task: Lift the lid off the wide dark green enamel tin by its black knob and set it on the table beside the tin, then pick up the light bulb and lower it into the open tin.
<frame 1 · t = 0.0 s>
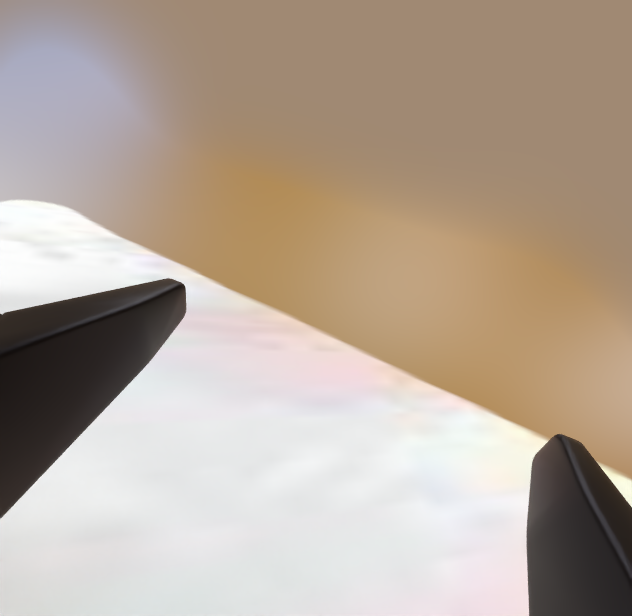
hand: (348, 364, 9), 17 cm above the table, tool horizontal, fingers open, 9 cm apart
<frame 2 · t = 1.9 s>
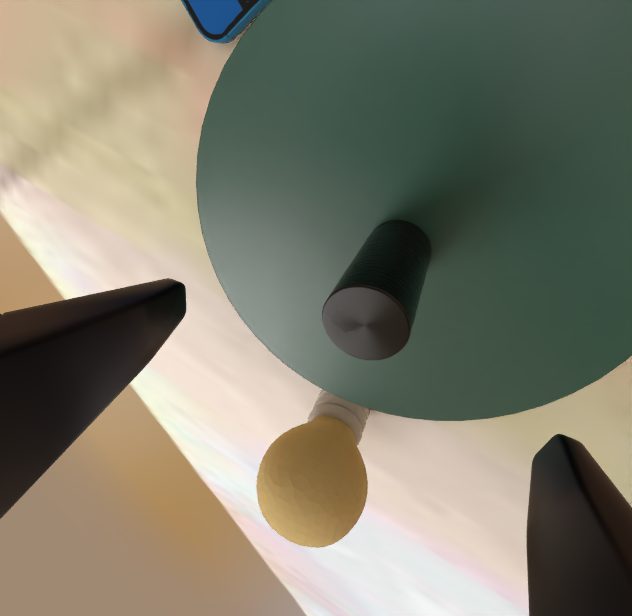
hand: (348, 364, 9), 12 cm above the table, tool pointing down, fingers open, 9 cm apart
tin lid: (400, 244, 14), point 5 cm above the table, touching tin
light bulb: (347, 396, 27), on the table
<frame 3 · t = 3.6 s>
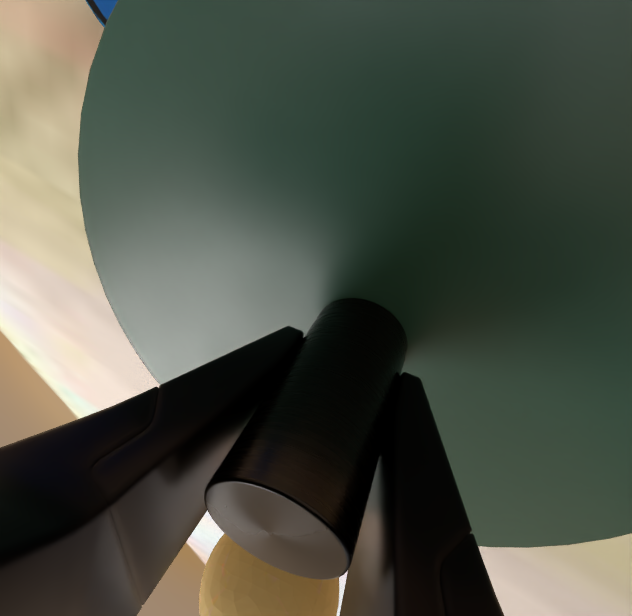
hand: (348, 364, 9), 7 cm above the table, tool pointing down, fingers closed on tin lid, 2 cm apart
tin lid: (365, 325, 10), point 5 cm above the table, touching gripper, tin
light bulb: (322, 460, 23), on the table
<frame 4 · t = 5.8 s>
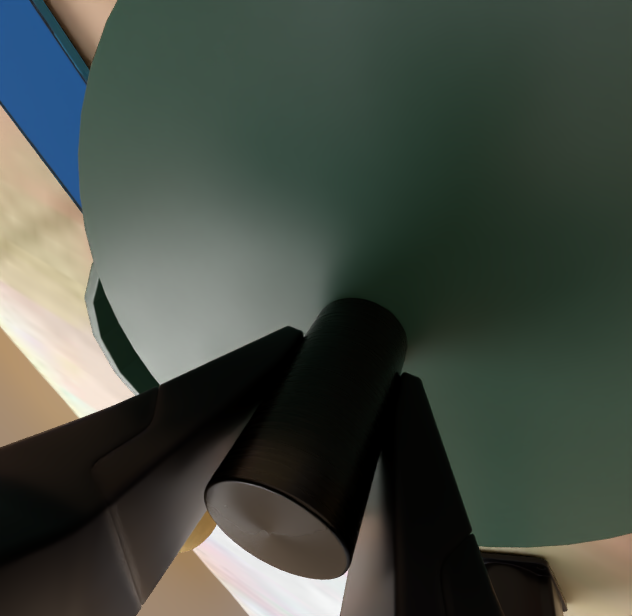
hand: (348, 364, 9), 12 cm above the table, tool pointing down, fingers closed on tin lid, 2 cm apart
tin lid: (365, 324, 10), point 10 cm above the table, touching gripper
light bulb: (229, 437, 36), on the table
tin: (238, 321, 26), on the table
smartphone: (50, 83, 22), on the table
when the fingers open (2 cm above the table, at t = 8.4 s): tin lid stays where it is, point 1 cm above the table.
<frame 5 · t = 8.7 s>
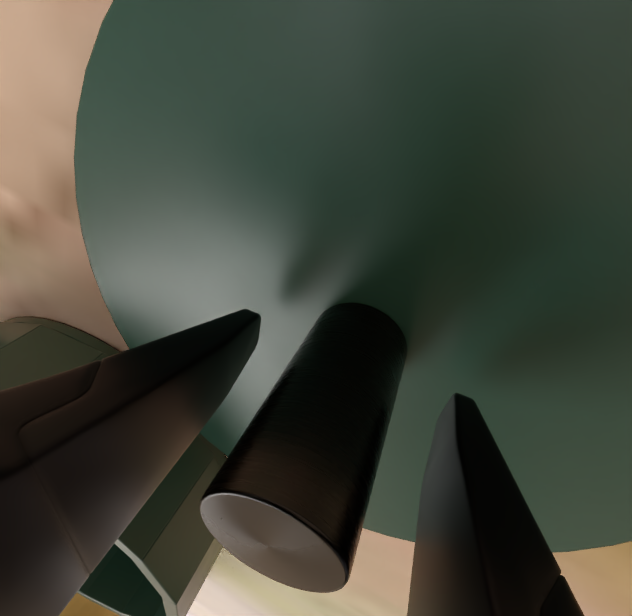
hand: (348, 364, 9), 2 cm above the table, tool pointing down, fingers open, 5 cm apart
tin lid: (365, 329, 10), point 1 cm above the table
light bulb: (140, 542, 30), on the table
tin: (111, 439, 21), on the table
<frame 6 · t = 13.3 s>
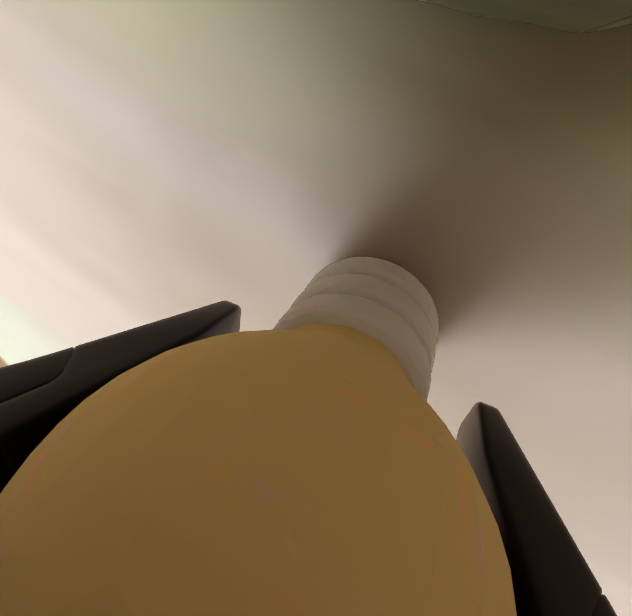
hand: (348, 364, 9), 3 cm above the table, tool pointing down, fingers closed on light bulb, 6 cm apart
light bulb: (374, 304, 11), on the table, touching gripper
when the fingers open (3 cm above the table, at t = 18.7 s): light bulb stays where it is, resting on tin.
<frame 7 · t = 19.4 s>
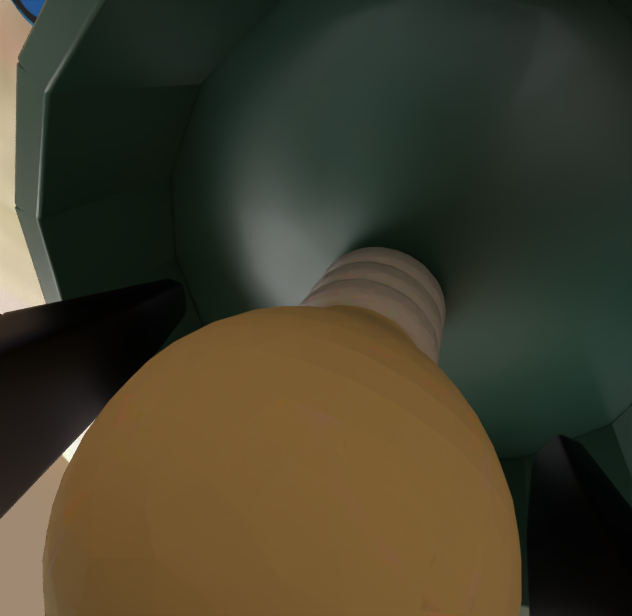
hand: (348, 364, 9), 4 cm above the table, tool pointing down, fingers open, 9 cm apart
light bulb: (384, 292, 11), resting on tin
tin: (385, 285, 12), on the table
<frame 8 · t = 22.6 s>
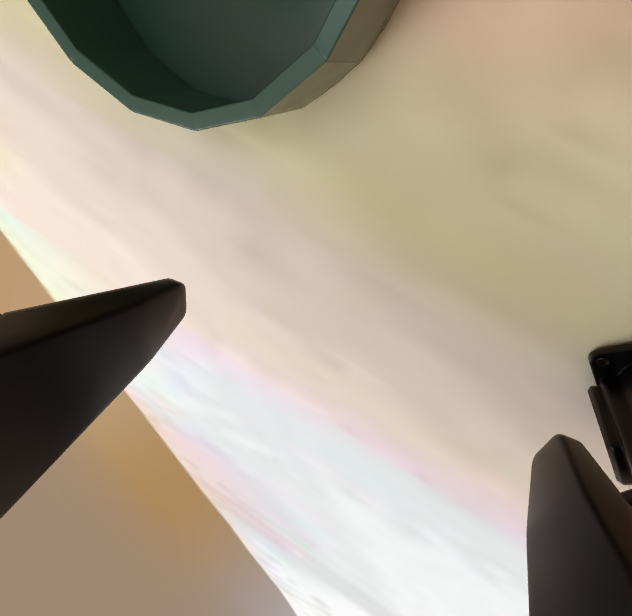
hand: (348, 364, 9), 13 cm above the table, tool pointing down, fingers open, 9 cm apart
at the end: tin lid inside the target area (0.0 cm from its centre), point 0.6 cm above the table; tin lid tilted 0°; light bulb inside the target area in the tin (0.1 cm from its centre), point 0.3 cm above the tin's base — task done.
